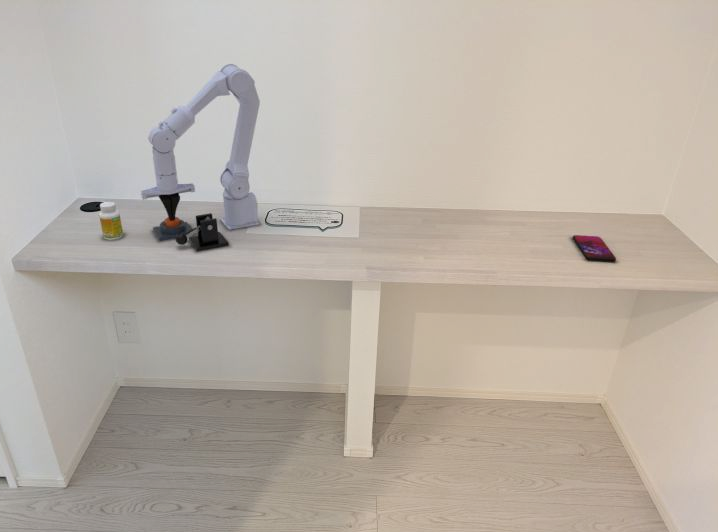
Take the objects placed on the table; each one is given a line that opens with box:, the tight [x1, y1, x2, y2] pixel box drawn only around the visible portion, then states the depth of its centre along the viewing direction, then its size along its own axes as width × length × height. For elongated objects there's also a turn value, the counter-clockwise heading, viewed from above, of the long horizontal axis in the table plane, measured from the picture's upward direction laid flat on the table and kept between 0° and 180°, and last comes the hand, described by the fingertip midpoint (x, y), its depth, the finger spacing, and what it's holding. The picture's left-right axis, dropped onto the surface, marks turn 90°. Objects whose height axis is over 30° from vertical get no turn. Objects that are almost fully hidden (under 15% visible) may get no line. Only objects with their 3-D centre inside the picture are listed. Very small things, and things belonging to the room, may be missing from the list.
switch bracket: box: [188, 212, 230, 253], centre depth 158 cm, size 9×8×8 cm
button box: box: [152, 218, 193, 242], centre depth 165 cm, size 10×8×3 cm
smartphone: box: [572, 234, 617, 262], centre depth 159 cm, size 8×1×15 cm
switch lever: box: [175, 216, 210, 246], centre depth 156 cm, size 11×3×3 cm, turn 116°
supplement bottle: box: [98, 201, 124, 241], centre depth 161 cm, size 5×5×10 cm
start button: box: [164, 216, 180, 227], centre depth 164 cm, size 4×4×2 cm
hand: (171, 218), depth 164 cm, fingers closed
